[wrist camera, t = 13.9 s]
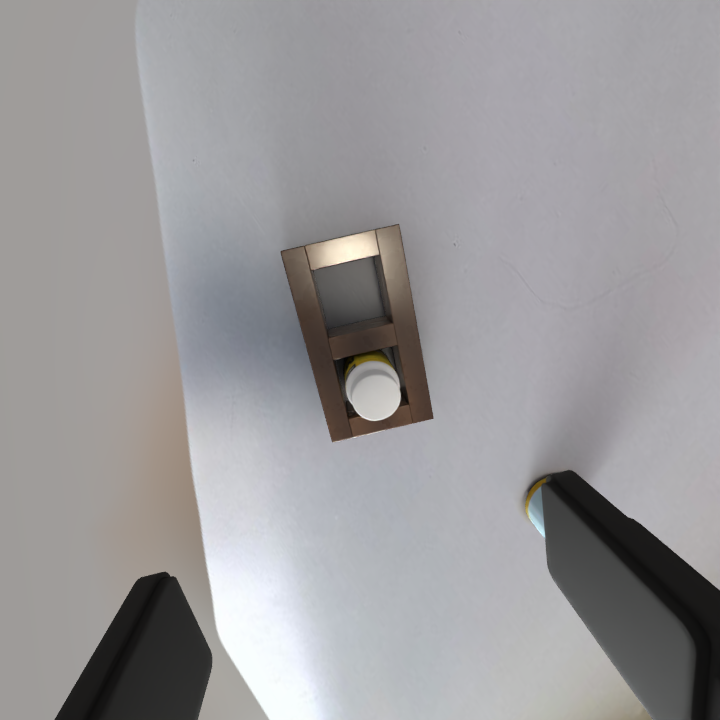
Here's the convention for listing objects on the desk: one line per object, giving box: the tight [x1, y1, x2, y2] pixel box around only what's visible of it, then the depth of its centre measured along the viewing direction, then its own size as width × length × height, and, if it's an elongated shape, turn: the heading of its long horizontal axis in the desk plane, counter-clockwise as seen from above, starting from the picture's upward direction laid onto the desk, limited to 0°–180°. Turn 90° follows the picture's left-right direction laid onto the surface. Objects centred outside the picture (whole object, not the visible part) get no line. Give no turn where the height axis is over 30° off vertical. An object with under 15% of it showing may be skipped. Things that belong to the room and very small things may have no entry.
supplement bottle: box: [343, 349, 401, 421], centre depth 32 cm, size 5×5×8 cm
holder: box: [281, 224, 433, 442], centre depth 33 cm, size 10×18×4 cm, turn 12°
